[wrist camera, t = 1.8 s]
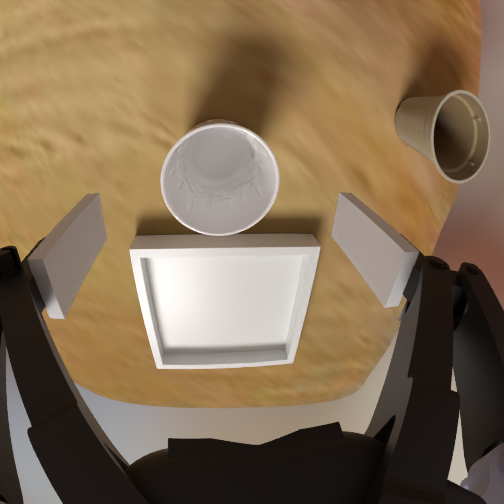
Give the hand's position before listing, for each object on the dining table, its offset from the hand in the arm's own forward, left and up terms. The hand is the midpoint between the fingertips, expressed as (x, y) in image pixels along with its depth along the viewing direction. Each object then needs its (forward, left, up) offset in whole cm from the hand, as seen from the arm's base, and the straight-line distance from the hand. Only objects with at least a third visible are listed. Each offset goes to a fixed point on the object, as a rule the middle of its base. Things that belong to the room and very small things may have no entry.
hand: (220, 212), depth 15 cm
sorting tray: (+19, +1, -14) cm, 24 cm away
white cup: (0, 0, -15) cm, 14 cm away
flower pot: (-6, +22, -15) cm, 27 cm away
